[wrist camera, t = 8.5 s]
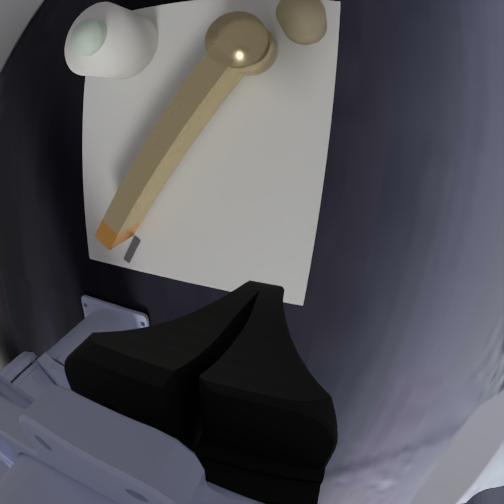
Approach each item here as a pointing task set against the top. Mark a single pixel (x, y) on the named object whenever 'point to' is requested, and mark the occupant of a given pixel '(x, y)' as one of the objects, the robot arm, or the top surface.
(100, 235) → the adjusting lever
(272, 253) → the base
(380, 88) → the top surface
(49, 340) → the top surface
